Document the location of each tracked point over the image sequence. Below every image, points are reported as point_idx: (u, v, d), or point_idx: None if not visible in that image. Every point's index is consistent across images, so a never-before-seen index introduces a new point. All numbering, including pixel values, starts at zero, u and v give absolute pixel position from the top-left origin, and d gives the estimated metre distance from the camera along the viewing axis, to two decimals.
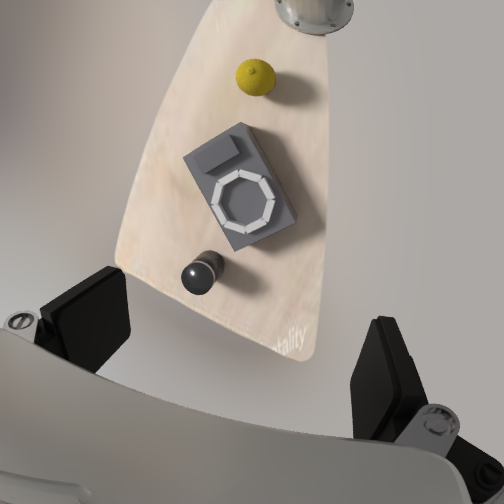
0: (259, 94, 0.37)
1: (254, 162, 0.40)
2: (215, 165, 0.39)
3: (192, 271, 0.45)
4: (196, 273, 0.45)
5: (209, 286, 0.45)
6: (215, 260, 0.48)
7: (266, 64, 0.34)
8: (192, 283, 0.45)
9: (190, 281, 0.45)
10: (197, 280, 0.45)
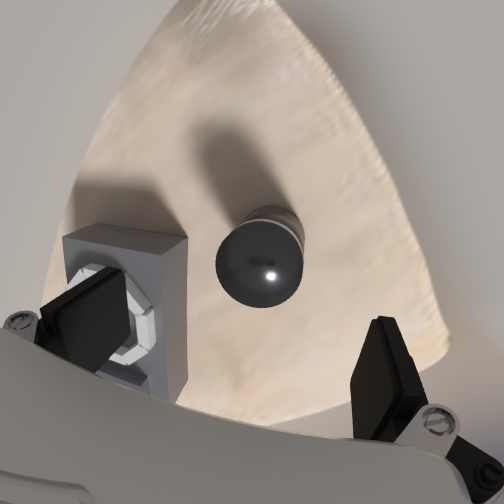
0: None
1: None
2: (119, 380, 0.23)
3: (251, 291, 0.17)
4: (245, 281, 0.17)
5: (235, 234, 0.17)
6: None
7: None
8: (274, 267, 0.17)
9: (275, 274, 0.17)
10: (255, 265, 0.17)
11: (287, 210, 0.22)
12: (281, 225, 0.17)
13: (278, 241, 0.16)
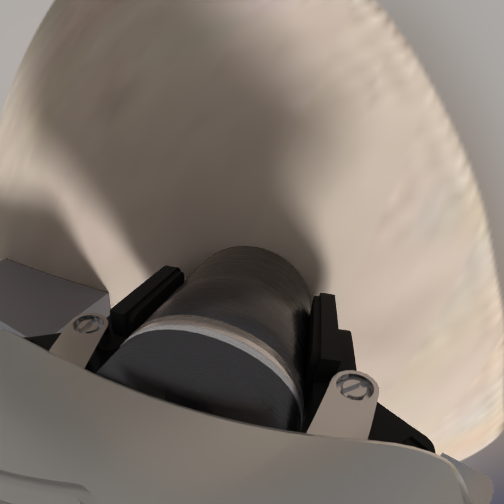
0: None
1: None
2: None
3: None
4: None
5: (114, 372, 0.05)
6: None
7: None
8: None
9: None
10: None
11: (276, 257, 0.11)
12: (244, 343, 0.06)
13: (227, 408, 0.05)
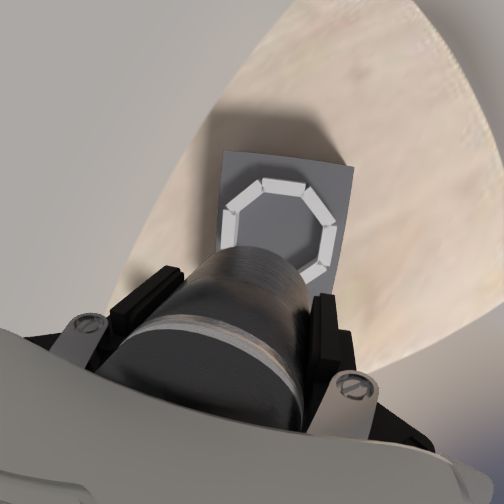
0: None
1: None
2: None
3: None
4: None
5: (113, 373, 0.05)
6: None
7: None
8: None
9: None
10: None
11: (276, 257, 0.11)
12: (243, 343, 0.06)
13: (226, 409, 0.05)
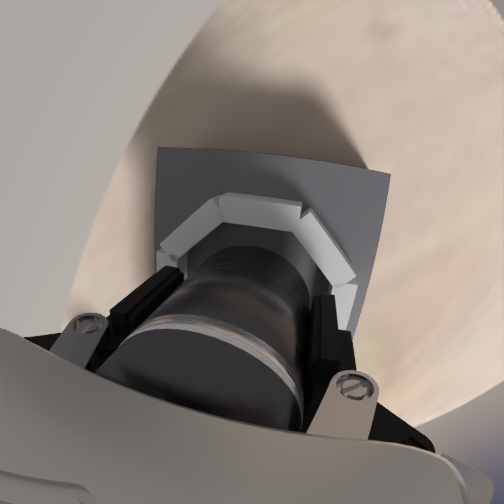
0: None
1: None
2: None
3: None
4: None
5: (113, 372, 0.05)
6: None
7: None
8: None
9: None
10: None
11: (276, 256, 0.11)
12: (243, 343, 0.06)
13: (226, 408, 0.05)
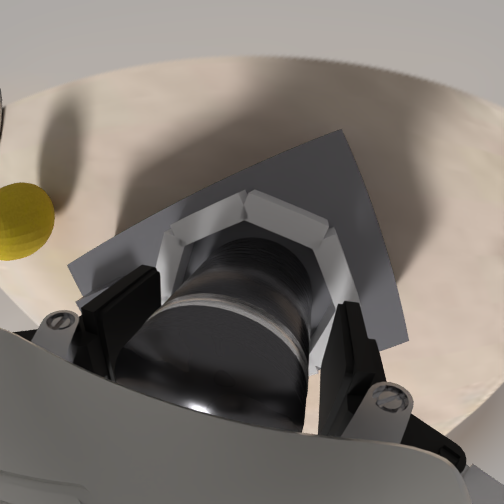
0: (33, 216, 0.16)
1: (143, 246, 0.14)
2: None
3: None
4: None
5: (142, 344, 0.06)
6: None
7: None
8: (237, 415, 0.06)
9: None
10: (195, 406, 0.07)
11: (280, 247, 0.12)
12: (257, 316, 0.07)
13: (244, 371, 0.06)
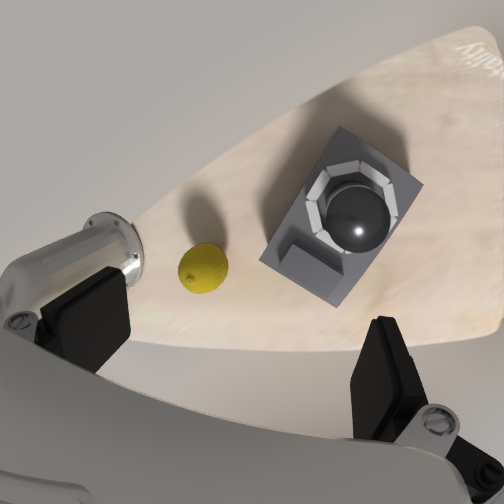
0: (218, 254, 0.34)
1: (296, 219, 0.29)
2: (324, 265, 0.29)
3: (364, 239, 0.21)
4: (356, 235, 0.21)
5: (331, 208, 0.21)
6: None
7: (179, 266, 0.33)
8: (367, 213, 0.21)
9: (371, 217, 0.21)
10: (356, 220, 0.21)
11: (349, 180, 0.27)
12: (354, 185, 0.22)
13: (359, 194, 0.20)
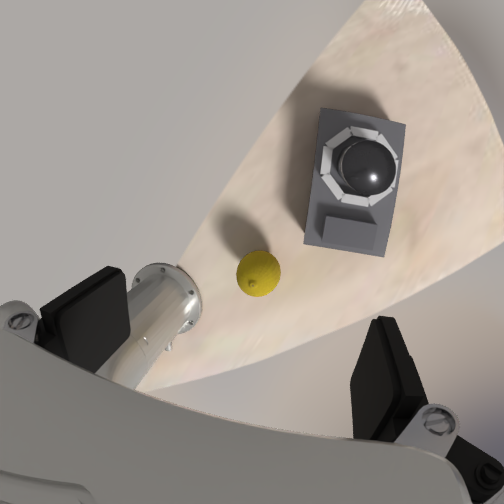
0: (267, 255, 0.37)
1: (320, 195, 0.33)
2: (358, 223, 0.31)
3: (380, 180, 0.24)
4: (373, 179, 0.25)
5: (345, 167, 0.25)
6: None
7: (237, 278, 0.37)
8: (374, 158, 0.24)
9: (378, 160, 0.24)
10: (367, 168, 0.24)
11: None
12: None
13: (361, 147, 0.24)
